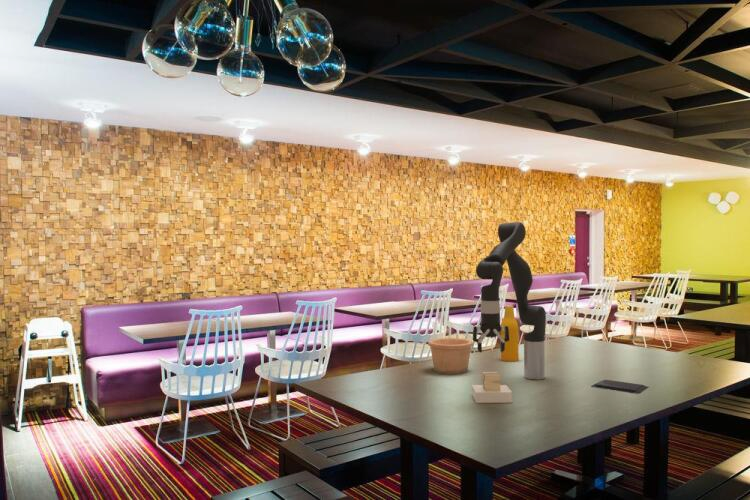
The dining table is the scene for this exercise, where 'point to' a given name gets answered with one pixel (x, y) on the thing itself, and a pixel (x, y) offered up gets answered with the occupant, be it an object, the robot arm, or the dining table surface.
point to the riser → (491, 395)
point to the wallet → (620, 386)
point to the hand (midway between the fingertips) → (491, 351)
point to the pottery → (450, 355)
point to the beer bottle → (510, 336)
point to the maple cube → (491, 381)
